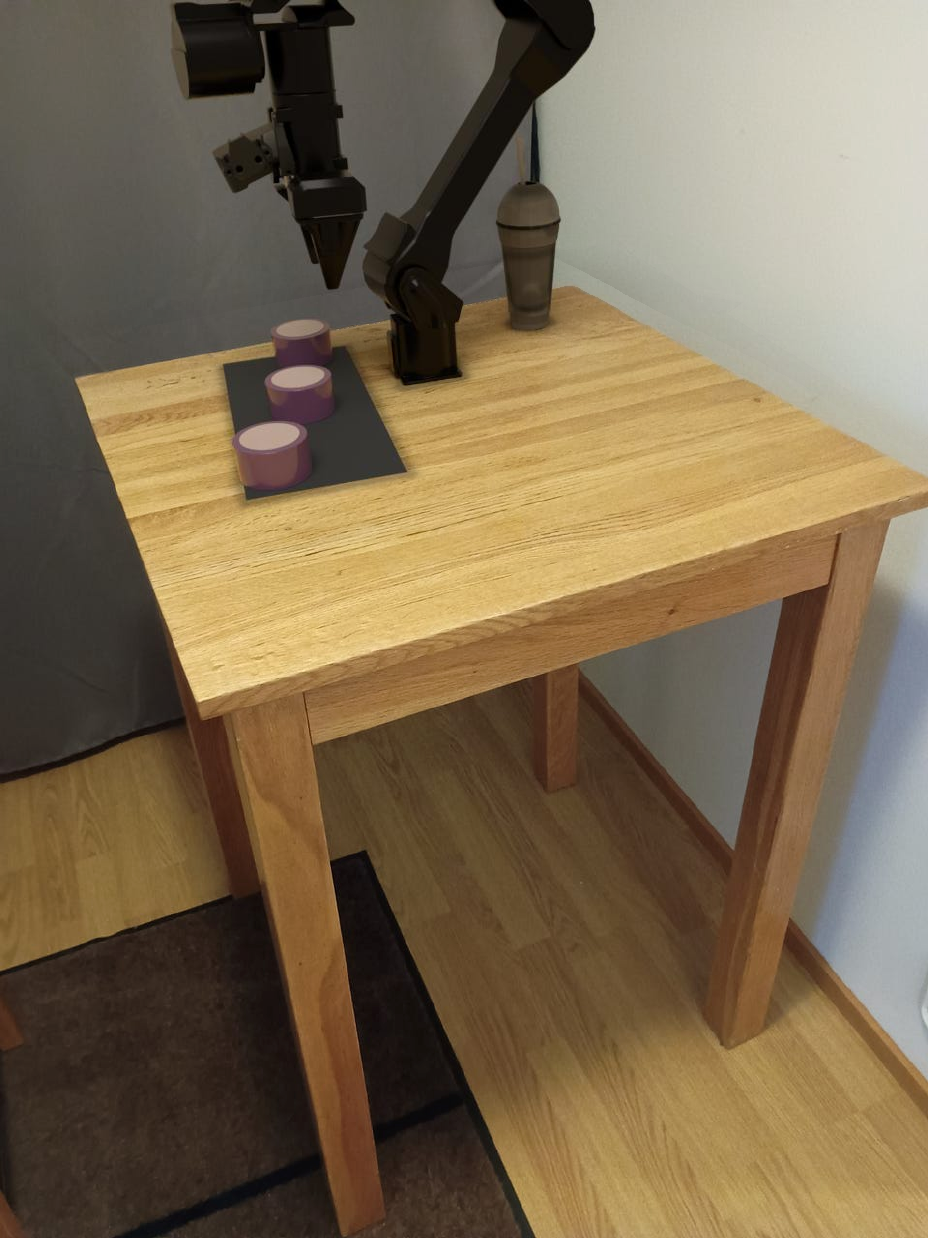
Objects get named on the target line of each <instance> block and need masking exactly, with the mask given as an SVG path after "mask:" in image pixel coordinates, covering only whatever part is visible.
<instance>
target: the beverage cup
mask: <svg viewBox="0 0 928 1238" xmlns="http://www.w3.org/2000/svg"><path fill="white" fill-rule="evenodd" d="M514 136H515V135H514ZM515 145H516V155H517V163H518V164H517V165H518V173H519V182H517V183H514V184H513V185H512V186H510V187H509V188H508V190H507V191H505V192H504V195H503V196H502V197H501V199H500V202H499V203H498V204H499V205H498V207H497V212H496V220H495V225H496V226H497V235H498V239H499V242H500V245H501V255H502V263H503V273H504V283H505V291H506V299H507V301H506V302H507V309H508V313H509V319H510V325H511V327H512V328H513V329H515V330H516V329H517V330H521V331H535V330H540V329H544V328H546V327H547V326H548V325H549V322H550V320H549V318H550V313H551V312H550V311H551V305H552V295H553V281H554V271H555V259H556V247H557V246H556V245H557V241H558V236H559V232H560V224H561V221H562V218H561V216H560V207H559V204H558V201H557V199H556V196H555V195H554V194H553V192H552V191H551V190H550V189H549V188H548V187H547V186H546V185H545V184H543V183H542V182H539V181H537V180H526V177H525V169H524V167H525V166H524V158H523V149H522V140H521V135H516V136H515Z"/></svg>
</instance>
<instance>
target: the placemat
mask: <svg viewBox="0 0 928 1238" xmlns="http://www.w3.org/2000/svg"><path fill="white" fill-rule="evenodd" d="M333 352H334V358H333V360H332V361H331V362H330V363H328V364H326V365H324V366H321V367H324V368H326V369H328V370H329V371H330V372H331V376H332V383H333V389H334V396H335V403H336V410H335V412H334V413H333V414H332V415H330V416H329V417H327V418H325V419H323V420H321V421H317V422H314V423H309V424H301V425H302V426H303V427H305V429H306V430H307V434H308V440H309V446H310V452H311V457H312V463H313V472H312V474H311V475H310V477H309V478H307V479H306V480H305V481H303V482H301V483H300V484H297V485H295V486H292V487H289V488H285V489H280V490H272V491H262V490H255V489H251V488H248V487H246V486H245V485H243V489H244V493H245V494H244V495H245V499H246V500H245V501H251V500H252V501H253V500H256V499H257V500H258V499H261V498H262V499H263V498H269V497H274V496H279V495H285V494H292V493H297V492H303V491H308V490H315V489H319V488H326V487H331V486H336V485H337V486H338V485H342V484H347V483H354V482H358V481H365V480H370V479H376V478H382V477H387V476H393V475H398V474H399V475H400V474H404V473H408V470H407V468H406V466H405V464H404V462H403V460H402V458H401V456H400V454H399V452H398V450H397V448H396V446H395V443H394V441H393V440H392V438H391V436H390V434H389V432H388V430H387V427H386V426H385V423H384V421H383V420H382V417H381V415H380V413H379V411H378V409H377V407H376V405H375V403H374V401H373V399H372V397H371V394H370V393H369V391H368V389H367V387H366V384H365V383H364V381H363V379H362V377H361V374H360V373H359V371H358V367H357V366H356V365H355V362H354V360H353V358H352V357H351V354H350V353H349V350H348V348H347V346H346V345H340V346H335V347H333ZM222 367H223V368H222V369H223V371H224V380H225V386H226V391H227V396H228V403H229V407H230V413H231V419H232V420H231V421H232V427H233V431H234V436H235V435H236V434H237V433H238V432H240V431H241V430H243V429H245V428H247V427H249V426H252V425H255V424H259V423H264V422H270V421H275V420H274V419H273V418H272V417H271V413H270V408H269V403H268V397H267V392H266V387H265V379H266V377H267V376H268V375H270V374H271V373H273V372H275V371H277V370H280V369H283V368H280V367H279V366H277V364H276V360H275V355H274V356H267V357H259V358H253V359H246V360H240V361H233V362H227V363H222Z"/></svg>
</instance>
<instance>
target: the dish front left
mask: <svg viewBox="0 0 928 1238" xmlns="http://www.w3.org/2000/svg"><path fill="white" fill-rule="evenodd" d="M265 387H266V392H267V397H268V403H269V408H270V413H271V417H272V418H273V419H274V420H275V421H289V422H294V423H298V424H300V425H301V424H309V423H314V422H317V421H321V420H323V419H325V418H327V417H329V416H330V415H332V414H333V413H334V412H335V410H336V403H335V396H334V389H333V383H332V376H331V372H330V371H329V370H328V369H326V368H324V367H321V366H315V365H298V366H291V367H287V368H283V369H280V370H277V371H275V372H273V373H271V374H270V375H268V376H267V377H266V379H265Z"/></svg>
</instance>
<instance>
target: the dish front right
mask: <svg viewBox="0 0 928 1238" xmlns="http://www.w3.org/2000/svg"><path fill="white" fill-rule="evenodd" d="M231 446H232V447H231V448H232V451H233V456H234V459H235V466H236V470H237V474H238V478H239V481H240V483H241V484H242V485H243V486H244V485H245V486H246V487H248V488H251V489H255V490H262V491H272V490H280V489H285V488H289V487H292V486H295V485H297V484H300V483H301V482H303V481H305V480H306V479H307V478H309V477H310V475H311V474H312V472H313V463H312V457H311V452H310V446H309V440H308V434H307V430H306V429H305V427H303V426H302V425H300V424H298V423H294V422H289V421H270V422H264V423H259V424H255V425H252V426H249V427H247V428H245V429H243V430H241V431H240V432H238V433H237V434H236V435H235V434H234V436H233V437H232V439H231Z"/></svg>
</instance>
